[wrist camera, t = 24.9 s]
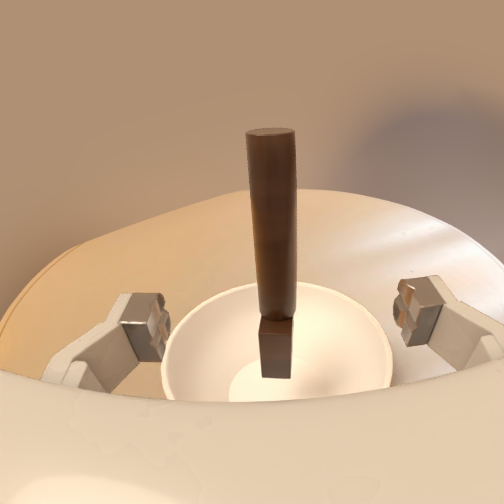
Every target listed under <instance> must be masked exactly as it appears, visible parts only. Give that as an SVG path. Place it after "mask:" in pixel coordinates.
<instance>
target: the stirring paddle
mask: <svg viewBox="0 0 504 504" xmlns="http://www.w3.org/2000/svg"><path fill="white" fill-rule="evenodd" d="M245 135H246V146H247V160H248V172H249V184H250V198H251V210H252V223H253V236H254V249H255V262H256V275H257V288H258V301H259V311H260V313H261V319H260V325H259V331H258V340H259V352H260V363H261V375H262V378H274V379H290V378H291V367H292V352H293V335H294V313H295V312H296V300H297V185H296V149H295V131H294V130H292V129H288V128H262V129H255V130H250V131H248V132H246V134H245Z"/></svg>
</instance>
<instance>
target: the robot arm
mask: <svg viewBox="0 0 504 504" xmlns="http://www.w3.org/2000/svg"><path fill="white" fill-rule="evenodd" d="M397 290H398V292H399V293H400V294H399V295H398V296H397V297H396V298H395V300H394V305H393V316H394V320H395V322H396V324H397V325H398V326H399V327H401V328H402V332H401V335H402V337H403V340H404V342H405V344H406V346H407V347H411V346H418V345H424V344H427V345H428V346H429V347H430V348H431V349H433V350H434V351H435V352H436V353H437V354H438V355H440V356H441V357H442V358H443V359H444V360H446V361H447V362H448V363H449V364H450V365H451V366H453V367H454V368H455V369H456V370H457V372H453V373H449V374H446V375H442V376H438V377H434V378H430V379H426V380H422V381H417V382H413V383H408V384H403V385H398V386H393V387H388V388H382V389H377V390H371V391H364V392H358V393H351V394H344V395H336V396H327V397H317V398H307V399H294V400H279V401H254V402H206V401H182V400H166V399H154V398H143V397H134V396H126V395H118V394H111V392H112V391H113V390H114V389H115V388H116V387H117V386H118V385H119V384H120V383H121V382H122V380H123V379H124V378H125V377H126V376H127V375H128V374H129V373H130V372H131V371H132V370H133V369H134V368H135V367H136V366H137V365H138V364H139V362H162V361H163V357H164V354H165V350H166V346H165V344H164V342H165V341H166V340H168V339H169V336H170V332H171V322H170V316H169V313H168V312H167V311H166V310H165V309H164V305H165V300H164V297H163V295H162V294H161V293H121V294H120V295H119V296H118V298H117V300H116V302H115V303H114V305H113V307H112V309H111V311H110V313H109V315H108V316H107V318H106V320H105V322H104V323H99V324H98V325H96V326H95V327H93V328H92V329H91V330H89V331H88V332H86V333H85V334H83V335H82V336H80V337H79V338H78V339H76V340H75V341H73V342H72V343H70V344H69V345H67V346H66V347H65V348H63V349H62V350H60V351H59V352H57V353H56V354H55V355H53V356H52V358H51V360H50V362H49V364H48V365H47V367H46V369H45V371H44V373H43V375H42V377H41V379H40V380H38V379H34V378H30V377H26V376H22V375H19V374H15V373H12V372H8V371H5V370H2V369H0V504H504V325H503V324H501V323H499V322H498V321H496V320H494V319H492V318H491V317H489V316H487V315H485V314H483V313H482V312H480V311H478V310H476V309H475V308H473V307H471V306H469V305H467V304H465V303H464V302H462V301H460V302H458V301H457V299H456V298H455V297H454V295H453V294H452V293H451V291H450V290H449V288H448V287H447V286H446V284H445V283H444V282H443V280H442V279H441V278H440V277H439V276H437V275H433V276H425V277H421V278H411V279H401V280H400V282H399V284H398V288H397Z"/></svg>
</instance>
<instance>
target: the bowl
mask: <svg viewBox="0 0 504 504" xmlns="http://www.w3.org/2000/svg"><path fill="white" fill-rule="evenodd" d="M260 319H261V313H260V311H259V301H258V288H257V283H252V284H248V285H244V286H240V287H236V288H233V289H230V290H228V291H225V292H222V293H220V294H217V295H216V296H214V297H212V298H210V299H208V300H206V301H204V302H203V303H201V304H200V305H199V306H197V307H196V308H195V309H193V310H192V311H190V312H189V313H188V314H187V315H186V317H185V318H184V319H183V320H182V321H181V322H180V323H179V324H178V325H177V326H176V328H175V329H174V331H173V332H172V334H171V336H170V337H169V339H168V342H167V344H166V350H165V354H164V357H163V361H162V365H161V375H162V383H163V389H164V391H165V394H166V396H167V398H168V400H182V401H206V402H254V401H279V400H294V399H307V398H317V397H327V396H336V395H344V394H351V393H358V392H364V391H371V390H377V389H382V388H388V387H390V383H391V378H392V373H393V358H392V351H391V347H390V344H389V341H388V338H387V336H386V334H385V332H384V331H383V329H382V327H381V326H380V324H379V322H378V321H377V320H376V319H375V318H374V317H373V316H372V315H371V314H370V313H369V312H368V310H366V309H365V308H364V307H362V306H361V305H360V304H358V303H357V302H356V301H354V300H353V299H351V298H349V297H347V296H345V295H343V294H341V293H339V292H337V291H334V290H331V289H328V288H326V287H323V286H318V285H314V284H309V283H304V282H297V300H296V312H295V313H294V335H293V352H292V367H291V378H290V379H274V378H262V375H261V363H260V352H259V340H258V331H259V325H260Z"/></svg>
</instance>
